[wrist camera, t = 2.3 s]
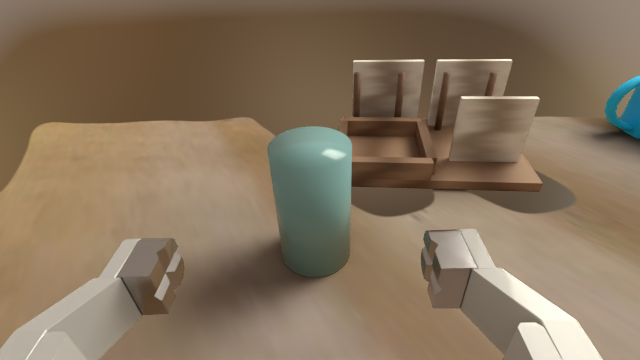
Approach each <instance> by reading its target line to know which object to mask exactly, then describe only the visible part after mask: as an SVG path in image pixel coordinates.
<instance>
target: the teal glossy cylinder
mask: <svg viewBox="0 0 640 360" xmlns="http://www.w3.org/2000/svg"><path fill="white" fill-rule="evenodd" d="M268 156H269V163H270V170H271V177H272V184H273V191H274V198H275V206H276V213H277V220H278V227H279V234H280V241H281V248H282V255H283V259H284V262H285V264H286V265H287V266H288V268H289V269H291V270H292V271H293V272H295V273H297V274H299V275H302V276H305V277H313V278H317V277H324V276H328V275H331V274H333V273H335V272H337V271H339V270H340V269H341V268H342V267H343V266H344V265H345V264H346V263H347V261H348V259H349V256H350V226H351V173H352V143H351V140H350V139H349V138H348V137H347V136H346V135H345V134H343V133H342V132H340V131H337V130H335V129H331V128H326V127H316V126H312V127H311V126H310V127H301V128H295V129H291V130H288V131H285V132H283V133H281V134H279V135H278V136H276V137H275V138H274V139H273V140H272V141H271V142H270V143H269V145H268Z"/></svg>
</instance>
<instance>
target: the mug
mask: <svg viewBox="0 0 640 360" xmlns="http://www.w3.org/2000/svg"><path fill="white" fill-rule="evenodd" d="M635 87H636V88H635ZM634 88H635V90H634V92H633V94H632V96H631V98H630V100H629V102H628V104H627V106H626V108H625V110H624V112H623V114H622V116H621V118H620V120H619V119H618V118H617V115H616V109H617V105H618V104H619V102H620V101H621V99H622V98H623V97H624V96H625V95H626V94H627V93H628V92H629V91H631V90H632V89H634ZM605 114H606V118H607V120H608V121H609V122H610V123H611V124H612V125H613V126H616V127H618V128H621V129H622V130H623V131H624V132H626V133H627V134H629V135H631V136H633V137H635V138H638V139H640V76H637V77H634V78H632V79H631V80H629V81H627V82H626V83H624V84H622V85H621V86H620V87H619V88H618V89H617V90H616V91H614V92H613V93H612V95H611V96H610V98H609V99H608V101H607V103H606V108H605Z"/></svg>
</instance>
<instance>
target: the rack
mask: <svg viewBox="0 0 640 360" xmlns="http://www.w3.org/2000/svg"><path fill="white" fill-rule="evenodd" d="M511 65H512V60H511V59H482V60H481V59H473V60H472V59H471V60H437V65H436V72H435V77H434V84H433V90H432V97H431V103H430V110H429V116H428V118H417V113H418V106H419V99H420V91H421V84H422V76H423V69H424V60H354V62H353V115H352V117H344V118H341V121H339V129H338V131H340V132H342V133H343V134H345V135H346V136H347V137H348V138H349V139H350V140H351V143H352V173H351V186H356V187H393V188H426V189H428V188H429V189H462V190H497V191H498V190H499V191H533V192H534V191H535V192H540V189H541V187H542V185H543V183H542V181H541V180H540V178H539V177H538V176H537V174H536V173H535V171H534V170H533V168H532V167H531V166H530V164H529V163H528V161H527V160H526V158H525V157H524V156H523V154H522V150H523V147H524V144H525V141H526V138H527V136H528V133H529V130H530V127H531V124H532V121H533V118H534V115H535V112H536V109H537V106H538V104H539V101H540V99H539V98H538V97H504V96H503V93H504V90H505V87H506V83H507V79H508V76H509V72H510V69H511Z"/></svg>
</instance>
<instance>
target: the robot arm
mask: <svg viewBox="0 0 640 360" xmlns="http://www.w3.org/2000/svg"><path fill="white" fill-rule="evenodd" d="M423 240H424V243H425V247H424V248H423V249H422V252H421V268H422V273H423V277H424V279H425V280H426V281H428V282H429V284H428V290H427V291H428V294H429V297H430V301H431V304H432V307H433V308H461V311H462V312H463V313H464V314H465V315H466V316H467V317H468V318H469V319H470V320H471V321H472V322H473V323H474V324H475V325H476V326H477V327H478V328H479V329H480V330H481V331H482V333H483V334H484V335H485V336H486V337H487V338H488V339H489V340H490V341H491V342H492V343H493V344H494V345H495V346H496V347H497V348H498V349H499V350H500V351H501V352H502V353H503V354H504V357H503V359H502V360H602V358H601V357H600V355H599V354H598V352H597V350H596V349H595V347H594V346H593V344H592V343H591V341H590V340H589V338H588V337H587V335H586V333H585V332H584V330H583V329H582V327H581V326H580V324H579V323H578V321H577V320H575V319H574V318H573V317H571V316H570V315H568V314H567V313H565V312H564V311H563V310H561V309H560V308H558V307H557V306H555V305H554V304H552V303H551V302H550V301H548V300H547V299H545V298H544V297H542V296H541V295H539V294H538V293H537V292H535V291H534V290H532V289H531V288H529V287H528V286H526V285H525V284H524V283H522V282H521V281H519V280H518V279H516V278H515V277H513V276H512V275H511V274H509V273H508V272H506V271H505V270H503V269H502V268H496V267H495V265H494V263H493V261H492V259H491V257H490V255H489V253H488V251H487V249H486V247H485V246H484V244H483V242H482V240H481V238H480V236H479V234H478V232H477V231H476V230H475V229H458V230H431V231H426V232H425V234H424V239H423ZM177 247H178V246H177V244H176V242H175V239H171V238H142V239H126V240H124V241H123V242H122V243H121V245H120V246H119V248H118V249H117V251H116V252H115V254H114V255H113V257H112V258H111V260H110V261H109V263H108V264H107V266H106V267H105V269H104V270H103V272H102V273H101V275H100V276H99V278H93V279H92V280H90V281H89V282H87V283H86V284H84V285H83V286H81V287H80V288H78V289H77V290H75V291H74V292H72V293H71V294H69V295H68V296H66V297H65V298H63V299H62V300H60V301H59V302H57V303H56V304H54V305H53V306H51V307H50V308H48V309H47V310H45V311H44V312H42V313H41V314H39V315H38V316H36V317H35V318H33V319H32V320H30V321H29V322H27V323H26V324H24V325H23V326H21V327H20V328H18V329H17V330H15V331H14V332H13V334H12V335H11V336H10V338H9V339H8V340H7V341H6V343H5V344H4V345H3V347H2V348H1V349H0V360H99V359H100V358H101V357H102V356H103V355H104V354H105V353H106V352H107V351H108V350H109V349H110V348H111V347H112V346H113V345H114V344H115V343H116V342H117V341H118V340H119V339H120V338H121V337H122V336H123V335H124V334H125V333H126V332H127V331H128V330H129V329H130V328H131V327H132V326H133V325H134V324H135V323H136V322H137V321H138V320H139V319H140V318H141V317H142V315H154V314H168V313H169V311H170V309H171V306H172V304H173V301H174V299H175V293H174V291H173V290H174V289H176V288H177V287H178V286H179V285H180V284H181V282H182V279H183V275H184V261H183V259H182V256H181V255H179V254H178V253H176V252H175V251H176V249H177Z"/></svg>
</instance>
